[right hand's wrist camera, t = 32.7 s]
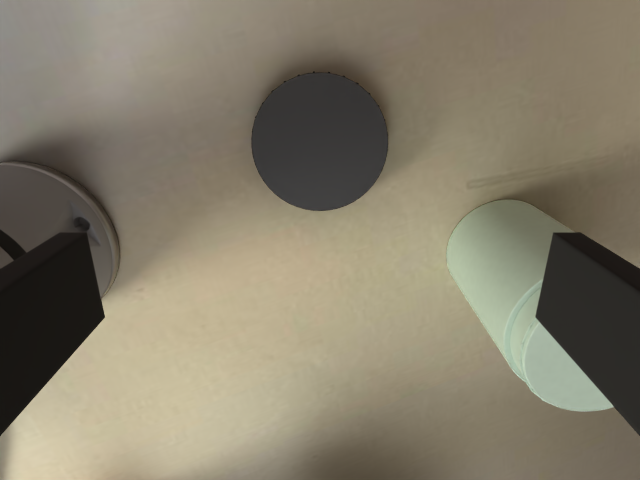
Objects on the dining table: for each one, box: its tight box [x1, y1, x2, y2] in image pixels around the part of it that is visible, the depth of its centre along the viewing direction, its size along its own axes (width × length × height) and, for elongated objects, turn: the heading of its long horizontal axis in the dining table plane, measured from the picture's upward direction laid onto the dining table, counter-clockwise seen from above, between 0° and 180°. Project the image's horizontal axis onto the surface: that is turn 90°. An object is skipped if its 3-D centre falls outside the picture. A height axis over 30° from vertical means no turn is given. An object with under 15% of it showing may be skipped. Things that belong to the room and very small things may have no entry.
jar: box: [446, 200, 614, 411], centre depth 33 cm, size 10×10×16 cm
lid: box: [252, 72, 388, 211], centre depth 35 cm, size 11×11×2 cm
